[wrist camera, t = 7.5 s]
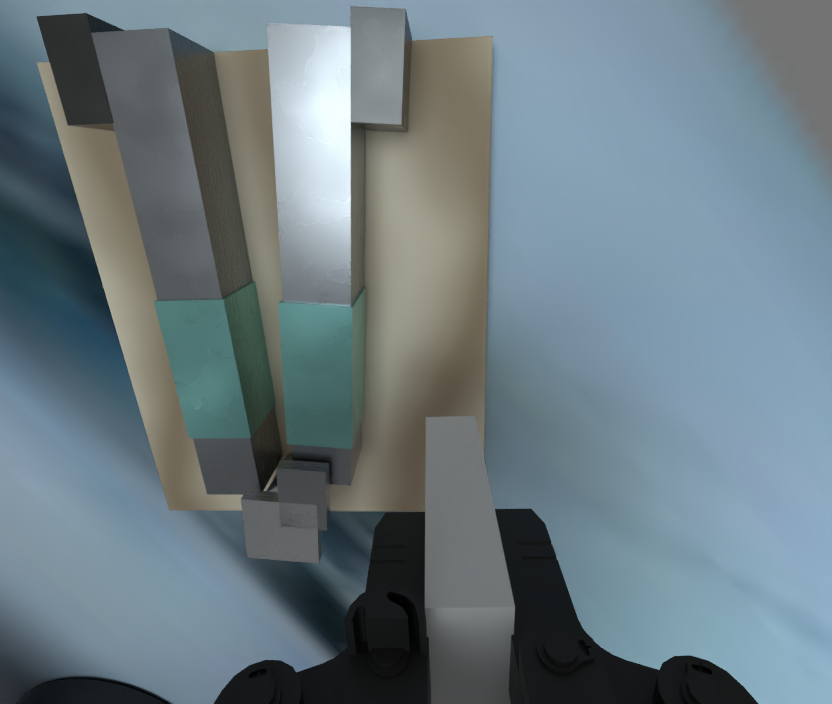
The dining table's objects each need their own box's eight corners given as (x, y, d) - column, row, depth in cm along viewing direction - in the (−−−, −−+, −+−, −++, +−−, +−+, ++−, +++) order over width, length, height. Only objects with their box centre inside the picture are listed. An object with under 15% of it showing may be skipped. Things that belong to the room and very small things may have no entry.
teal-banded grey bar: (215, 493, 24) (182, 540, 21) (104, 42, 17) (28, 13, 14) (337, 494, 24) (321, 541, 21) (279, 31, 16) (242, -1, 13)
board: (181, 495, 26) (169, 510, 25) (61, 69, 18) (36, 62, 17) (480, 496, 25) (482, 511, 24) (489, 44, 17) (492, 35, 16)
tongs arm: (276, 498, 24) (247, 557, 20) (241, 29, 16) (182, -13, 12) (392, 507, 23) (382, 568, 20) (411, 38, 16) (403, -3, 12)
